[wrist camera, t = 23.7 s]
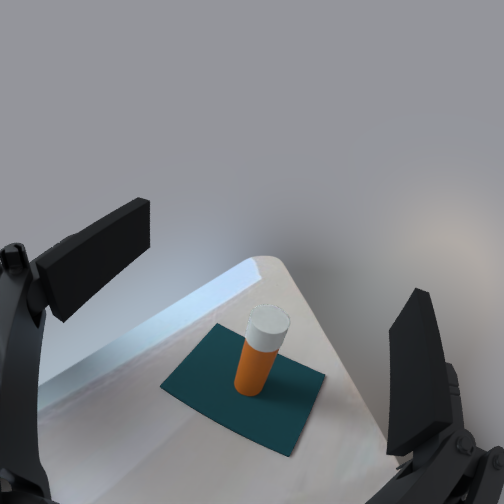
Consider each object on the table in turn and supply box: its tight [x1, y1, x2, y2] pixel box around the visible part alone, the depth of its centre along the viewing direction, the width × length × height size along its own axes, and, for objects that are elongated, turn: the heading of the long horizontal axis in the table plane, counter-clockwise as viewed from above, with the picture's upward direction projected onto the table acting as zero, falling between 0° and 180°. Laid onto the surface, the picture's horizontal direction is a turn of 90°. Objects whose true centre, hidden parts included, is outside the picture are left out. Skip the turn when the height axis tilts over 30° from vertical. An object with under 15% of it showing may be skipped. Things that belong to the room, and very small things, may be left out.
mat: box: [160, 323, 325, 457], centre depth 35 cm, size 18×14×1 cm
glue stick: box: [234, 304, 290, 396], centre depth 31 cm, size 4×4×13 cm
